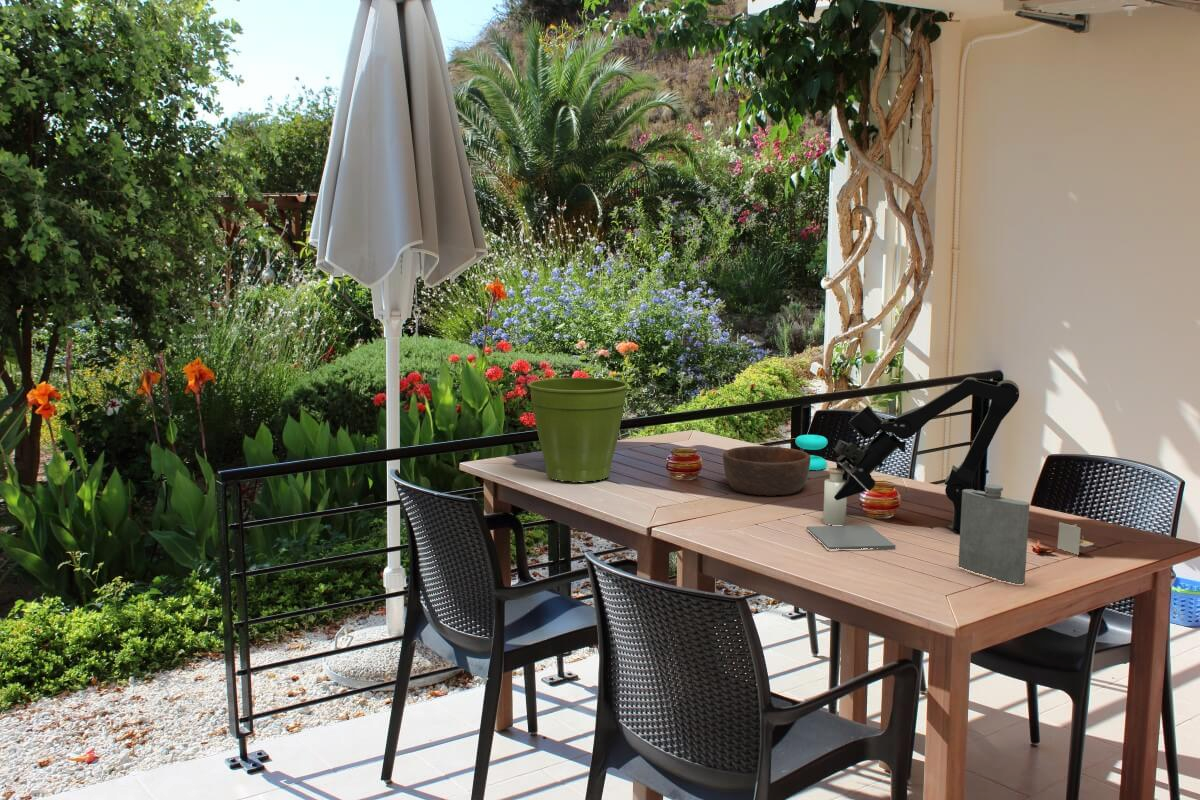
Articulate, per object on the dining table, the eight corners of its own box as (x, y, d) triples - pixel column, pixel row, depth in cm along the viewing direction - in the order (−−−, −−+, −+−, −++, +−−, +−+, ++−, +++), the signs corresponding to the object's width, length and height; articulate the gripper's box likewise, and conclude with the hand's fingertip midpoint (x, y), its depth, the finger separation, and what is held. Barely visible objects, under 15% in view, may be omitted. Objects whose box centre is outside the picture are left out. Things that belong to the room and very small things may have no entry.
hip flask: (1027, 584, 228) (1033, 491, 224) (1015, 587, 225) (1021, 494, 222) (964, 565, 241) (969, 477, 237) (952, 568, 238) (957, 479, 235)
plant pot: (601, 492, 308) (601, 393, 303) (511, 482, 321) (510, 386, 316) (643, 472, 334) (643, 380, 330) (558, 463, 347) (557, 374, 343)
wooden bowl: (713, 495, 305) (714, 459, 304) (732, 476, 329) (732, 443, 327) (802, 502, 297) (803, 465, 296) (815, 482, 321) (816, 448, 319)
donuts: (834, 437, 339) (814, 441, 332) (833, 468, 340) (813, 472, 333) (808, 432, 346) (788, 436, 339) (807, 463, 347) (788, 467, 341)
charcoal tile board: (895, 549, 252) (895, 545, 252) (828, 551, 251) (828, 547, 251) (869, 528, 270) (869, 524, 270) (806, 530, 268) (806, 526, 268)
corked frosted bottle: (848, 525, 273) (850, 471, 271) (826, 526, 272) (828, 472, 270) (841, 520, 278) (843, 466, 276) (820, 520, 278) (822, 467, 276)
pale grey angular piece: (1066, 551, 253) (1068, 520, 252) (1092, 558, 247) (1094, 527, 246) (1056, 553, 251) (1058, 522, 250) (1082, 561, 245) (1084, 529, 244)
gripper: (846, 423, 281) (802, 464, 282) (864, 436, 262) (817, 480, 264) (875, 453, 282) (831, 494, 284) (894, 468, 264) (848, 512, 265)
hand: (831, 494), depth 274 cm, fingers open, 9 cm apart
